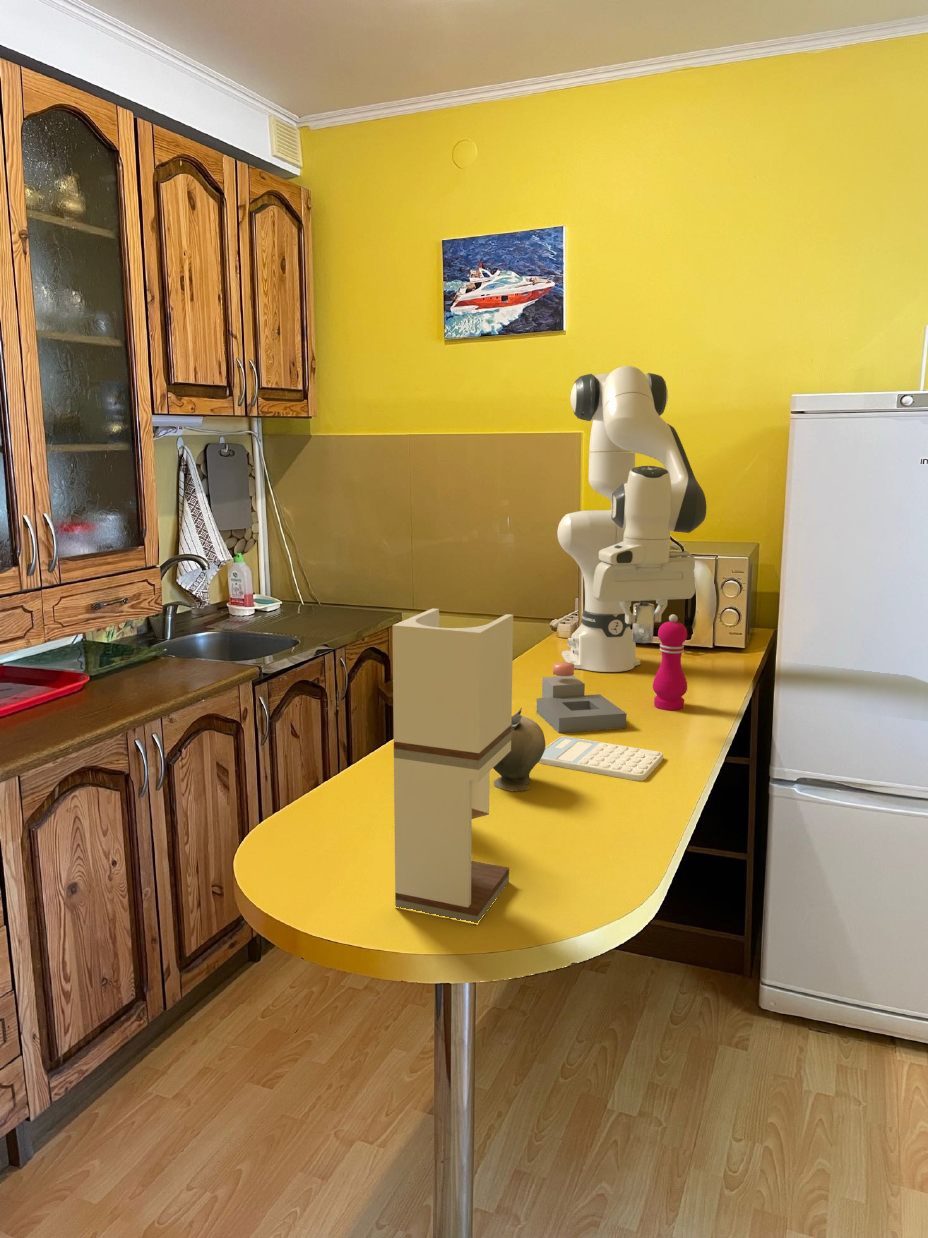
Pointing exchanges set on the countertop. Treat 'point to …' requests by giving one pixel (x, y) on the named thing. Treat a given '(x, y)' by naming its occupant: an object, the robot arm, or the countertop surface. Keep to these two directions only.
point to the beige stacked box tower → (447, 759)
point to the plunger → (563, 669)
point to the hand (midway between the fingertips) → (642, 622)
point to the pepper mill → (670, 666)
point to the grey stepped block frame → (576, 707)
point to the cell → (643, 622)
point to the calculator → (601, 758)
